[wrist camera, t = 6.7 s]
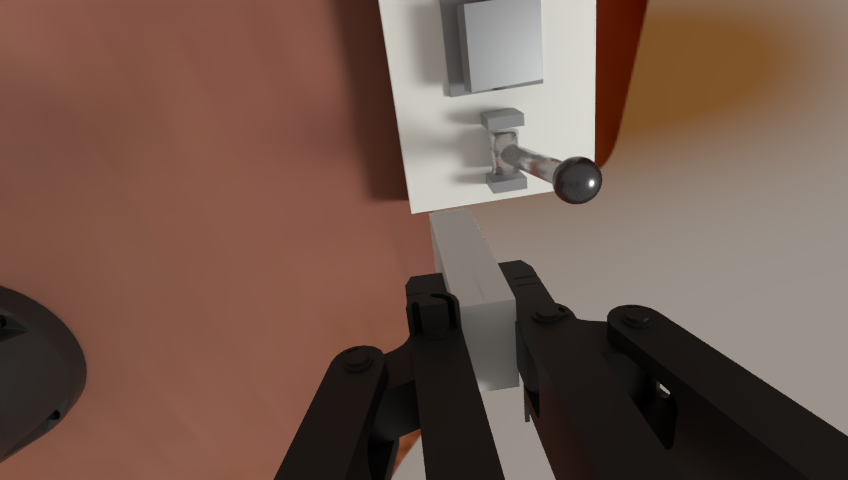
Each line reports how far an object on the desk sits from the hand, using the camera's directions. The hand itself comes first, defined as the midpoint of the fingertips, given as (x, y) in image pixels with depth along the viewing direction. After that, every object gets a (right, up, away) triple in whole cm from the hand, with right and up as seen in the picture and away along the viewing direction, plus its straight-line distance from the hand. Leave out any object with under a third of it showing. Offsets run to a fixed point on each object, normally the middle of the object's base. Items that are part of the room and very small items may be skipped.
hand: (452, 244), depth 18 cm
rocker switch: (+4, +13, +13) cm, 18 cm away
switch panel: (+3, +14, +17) cm, 22 cm away
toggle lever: (+4, +6, +15) cm, 17 cm away
